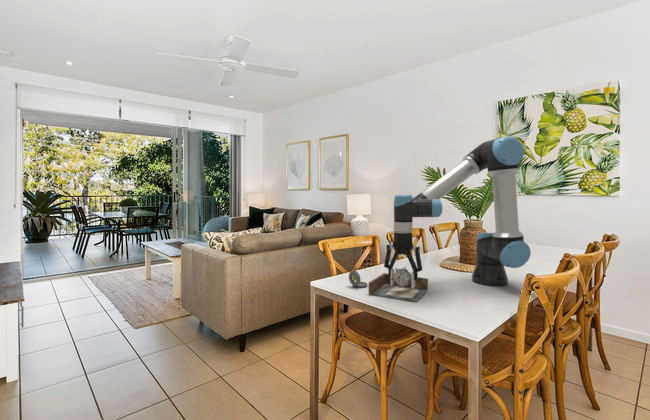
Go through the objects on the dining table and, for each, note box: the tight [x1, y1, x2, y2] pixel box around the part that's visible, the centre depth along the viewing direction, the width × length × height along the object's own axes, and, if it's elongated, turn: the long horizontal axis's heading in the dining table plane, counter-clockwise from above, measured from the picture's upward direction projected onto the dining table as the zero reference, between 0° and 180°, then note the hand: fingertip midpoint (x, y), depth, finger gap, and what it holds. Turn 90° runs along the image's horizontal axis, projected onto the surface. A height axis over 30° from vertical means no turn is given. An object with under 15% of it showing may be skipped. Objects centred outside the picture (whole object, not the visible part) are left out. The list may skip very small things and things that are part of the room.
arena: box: [368, 272, 429, 303], centre depth 142 cm, size 20×18×5 cm
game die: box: [391, 266, 412, 288], centre depth 140 cm, size 9×8×10 cm
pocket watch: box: [348, 265, 368, 288], centre depth 152 cm, size 8×8×10 cm
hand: (402, 285), depth 140 cm, fingers closed on game die, 8 cm apart
